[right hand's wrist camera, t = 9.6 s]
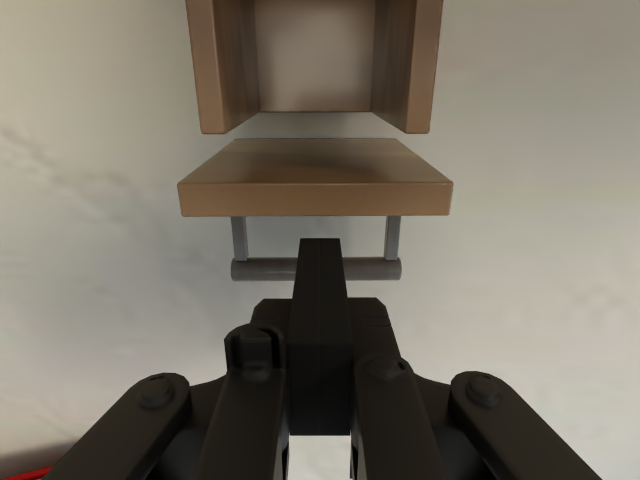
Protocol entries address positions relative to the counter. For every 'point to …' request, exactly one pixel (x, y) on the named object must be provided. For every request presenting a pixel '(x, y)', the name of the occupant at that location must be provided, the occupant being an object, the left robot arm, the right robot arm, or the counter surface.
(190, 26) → the drawer
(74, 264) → the counter surface
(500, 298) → the counter surface
